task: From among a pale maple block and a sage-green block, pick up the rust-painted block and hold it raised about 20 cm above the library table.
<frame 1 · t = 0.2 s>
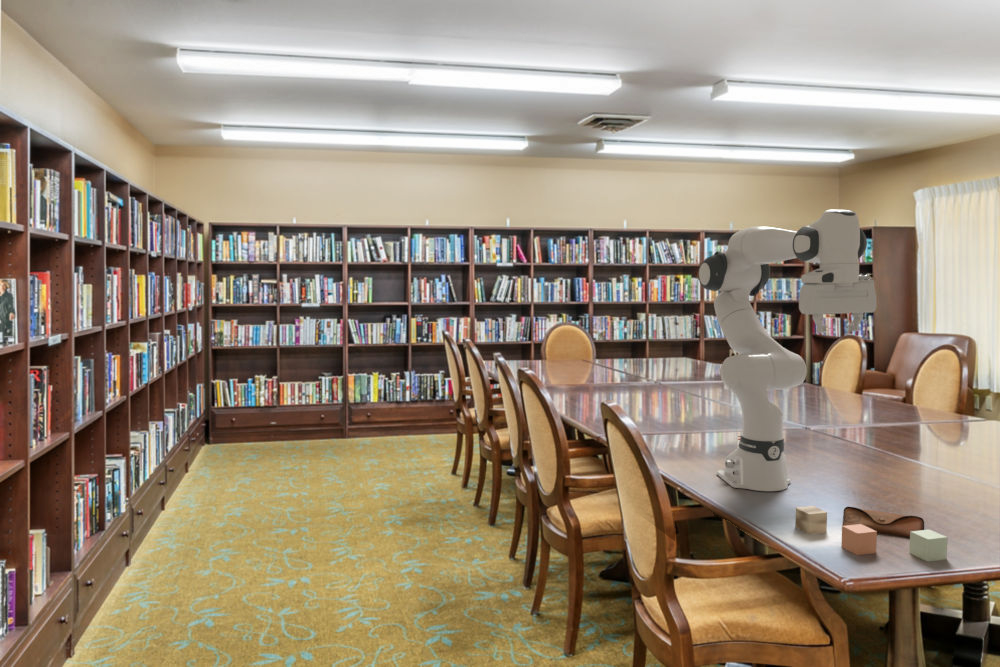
hand: (837, 331, 183), 47 cm above the table, fingers open, 8 cm apart
rust block: (858, 550, 167), on the table
maple block: (810, 530, 180), on the table
sage block: (927, 556, 163), on the table
sunglasses case: (882, 531, 180), on the table
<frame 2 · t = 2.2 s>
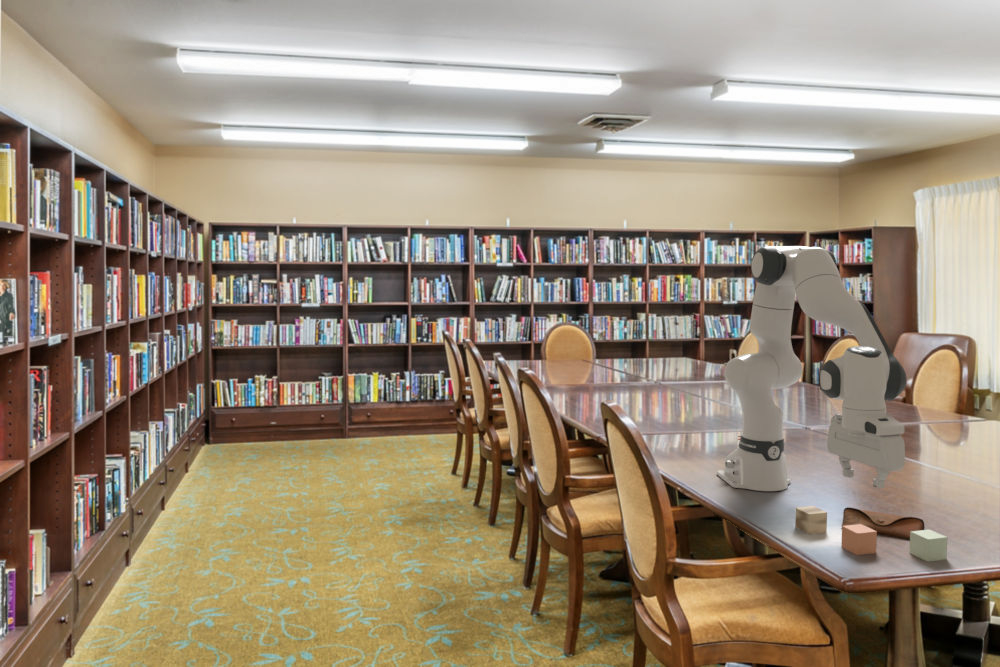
hand: (863, 481, 165), 16 cm above the table, fingers open, 8 cm apart
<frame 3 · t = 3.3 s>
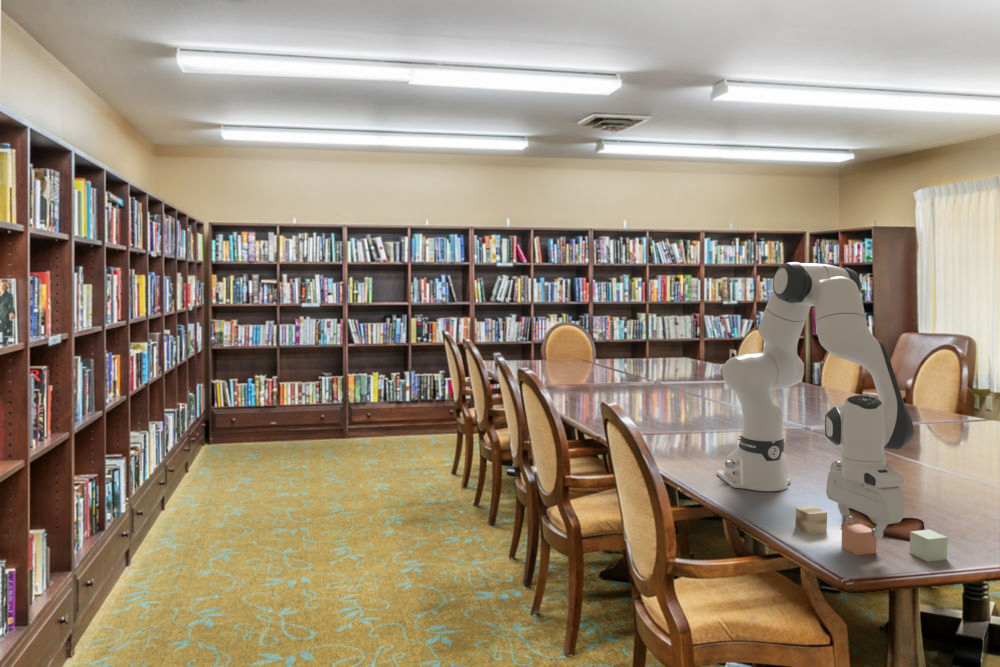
hand: (861, 530, 166), 5 cm above the table, fingers open, 8 cm apart
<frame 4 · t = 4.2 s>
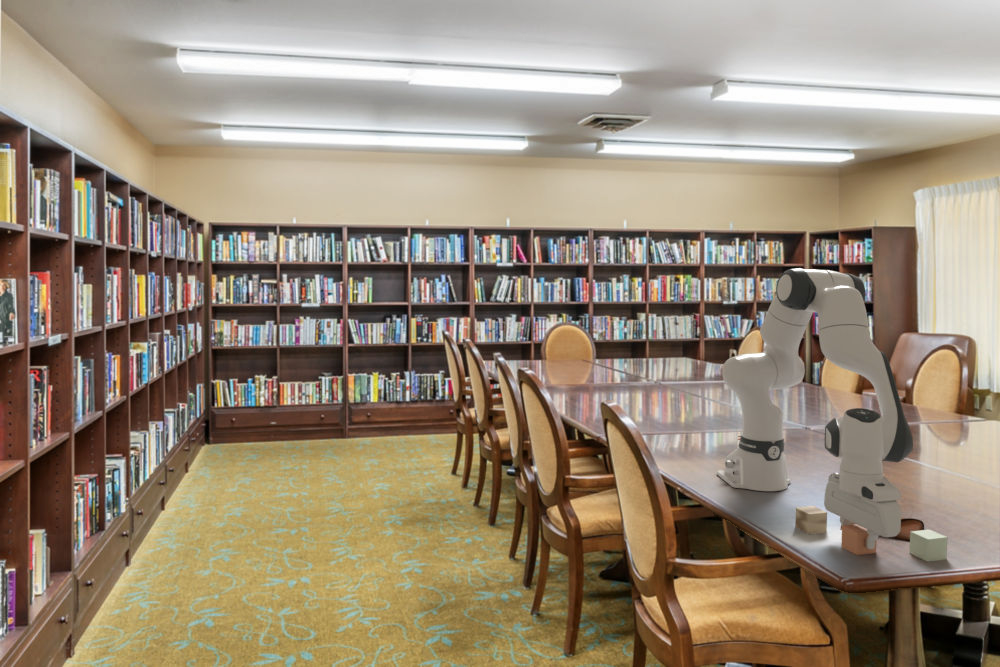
hand: (858, 542, 166), 2 cm above the table, fingers closed on rust block, 5 cm apart
rust block: (858, 549, 167), on the table, touching gripper
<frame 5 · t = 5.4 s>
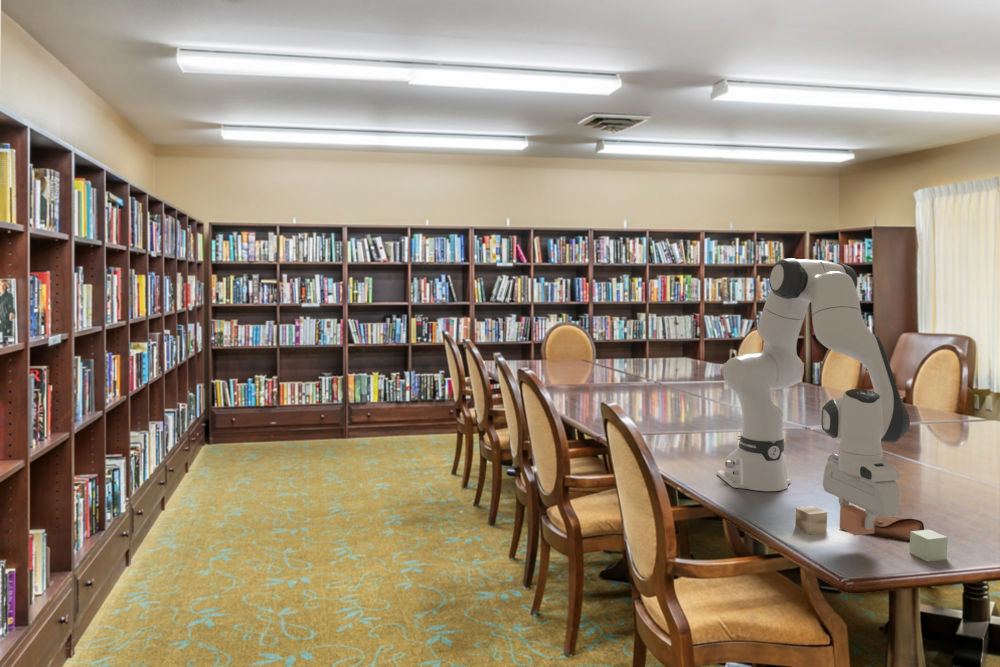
hand: (857, 523, 166), 6 cm above the table, fingers closed on rust block, 5 cm apart
rust block: (856, 530, 167), point 4 cm above the table, touching gripper
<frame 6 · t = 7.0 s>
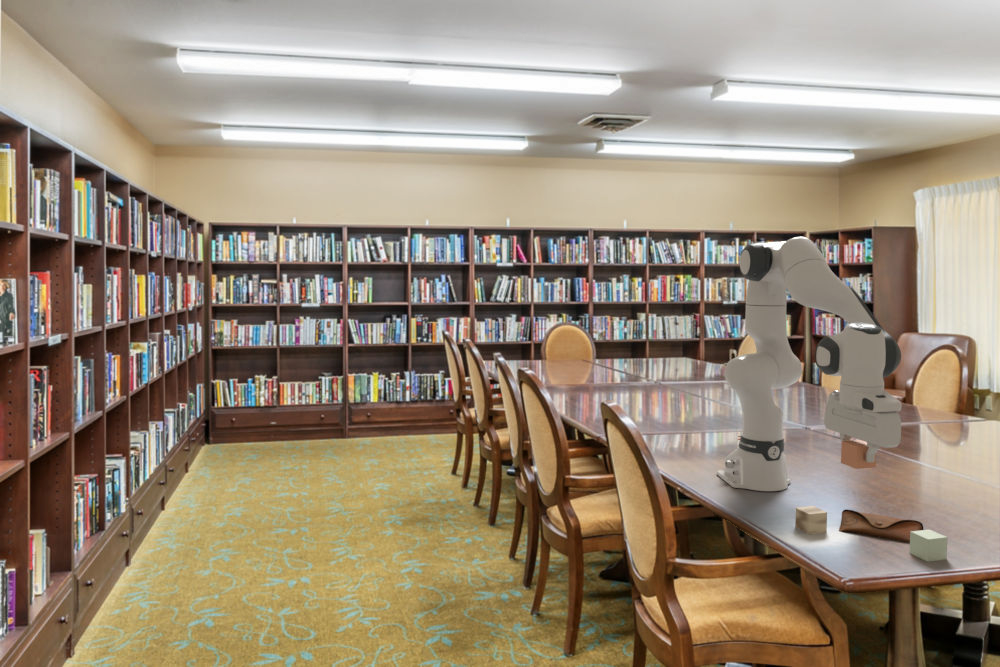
hand: (858, 457, 166), 21 cm above the table, fingers closed on rust block, 5 cm apart
rust block: (858, 465, 166), point 19 cm above the table, touching gripper
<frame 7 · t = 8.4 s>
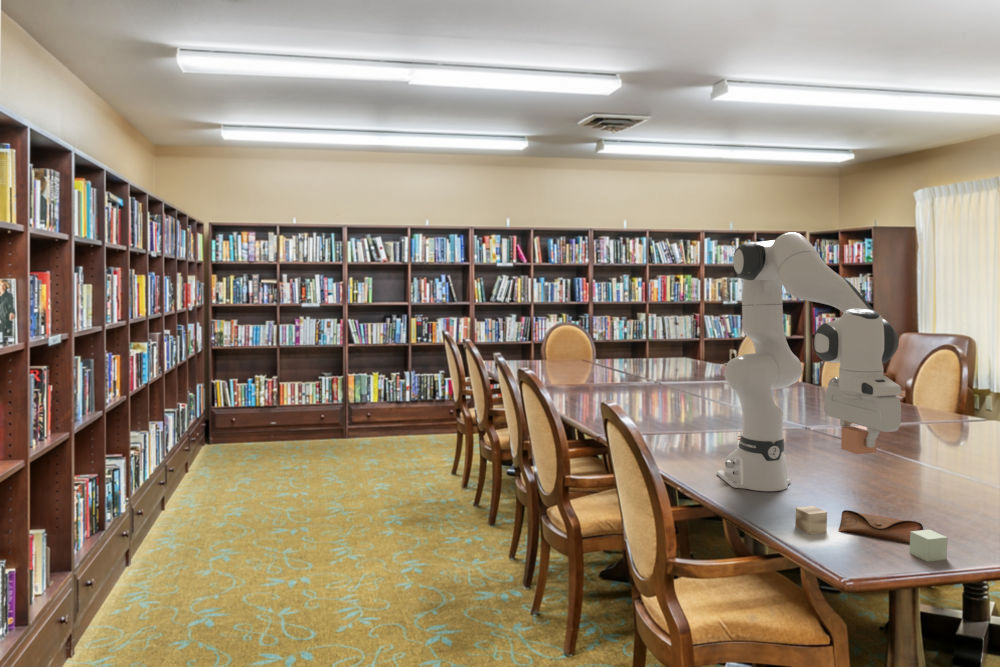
hand: (858, 443, 165), 24 cm above the table, fingers closed on rust block, 5 cm apart
rust block: (858, 450, 166), point 22 cm above the table, touching gripper
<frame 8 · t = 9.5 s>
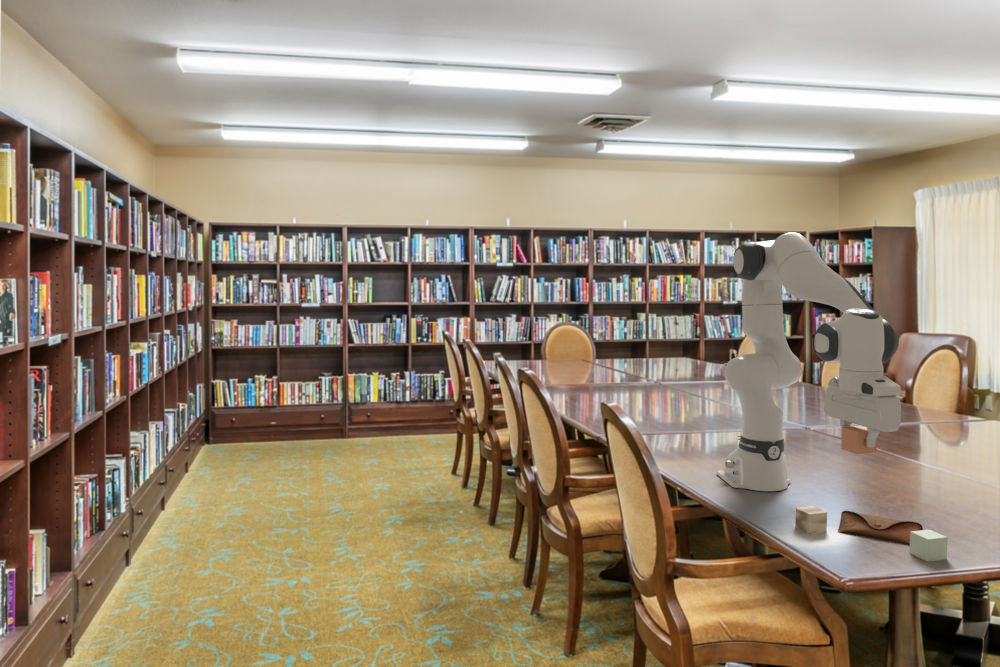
hand: (858, 443, 165), 24 cm above the table, fingers closed on rust block, 5 cm apart
rust block: (858, 450, 166), point 22 cm above the table, touching gripper
at the end: rust block point 22.4 cm above the table; maple block moved 0.1 cm from its start; sage block moved 0.1 cm from its start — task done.
